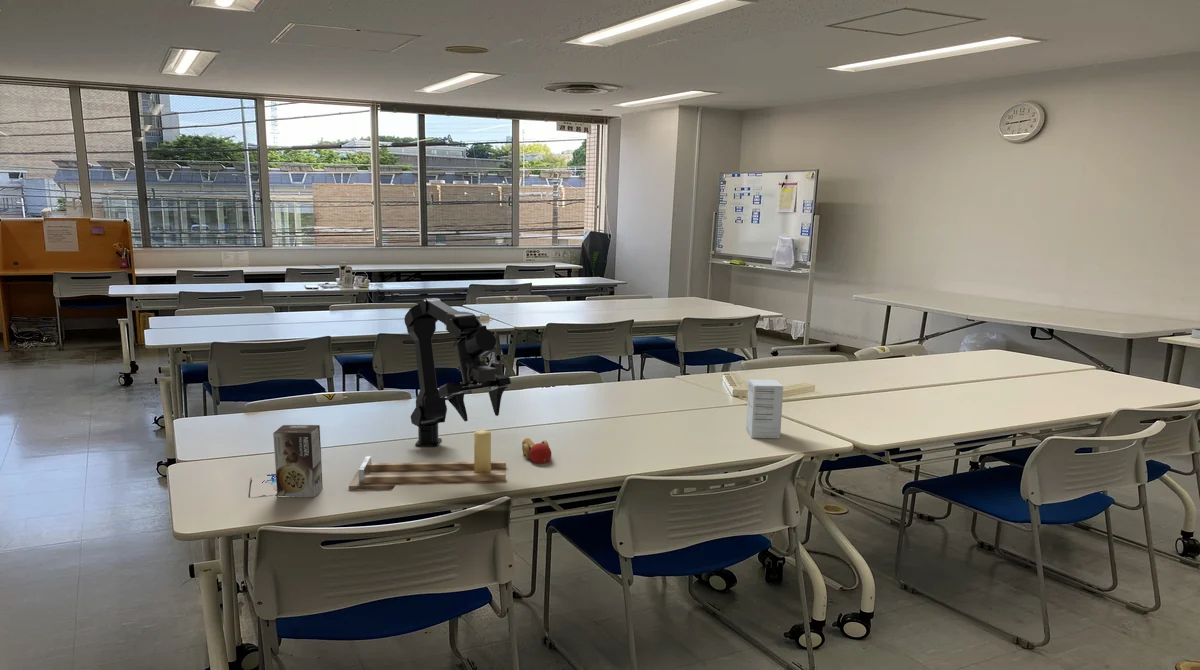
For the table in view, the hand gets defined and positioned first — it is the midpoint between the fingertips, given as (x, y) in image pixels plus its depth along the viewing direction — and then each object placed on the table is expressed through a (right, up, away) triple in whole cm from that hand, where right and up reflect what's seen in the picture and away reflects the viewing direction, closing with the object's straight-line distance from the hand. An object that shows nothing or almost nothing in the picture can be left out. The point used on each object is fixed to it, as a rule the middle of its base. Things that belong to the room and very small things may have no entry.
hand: (481, 418), depth 195 cm
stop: (-29, -15, -4) cm, 33 cm away
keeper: (0, -14, -1) cm, 14 cm away
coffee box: (-42, -17, -13) cm, 47 cm away
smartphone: (-52, -16, -10) cm, 55 cm away
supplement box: (+82, -10, +43) cm, 94 cm away
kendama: (+12, -13, +17) cm, 24 cm away
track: (-13, -15, -2) cm, 20 cm away
